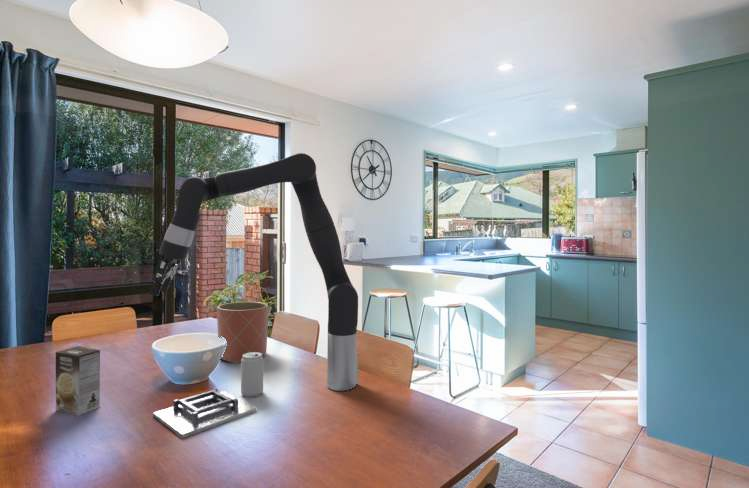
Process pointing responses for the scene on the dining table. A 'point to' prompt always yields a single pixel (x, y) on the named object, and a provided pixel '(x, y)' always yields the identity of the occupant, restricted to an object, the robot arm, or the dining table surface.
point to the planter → (243, 328)
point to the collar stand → (202, 412)
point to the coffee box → (77, 380)
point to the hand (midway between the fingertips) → (158, 293)
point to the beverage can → (252, 374)
